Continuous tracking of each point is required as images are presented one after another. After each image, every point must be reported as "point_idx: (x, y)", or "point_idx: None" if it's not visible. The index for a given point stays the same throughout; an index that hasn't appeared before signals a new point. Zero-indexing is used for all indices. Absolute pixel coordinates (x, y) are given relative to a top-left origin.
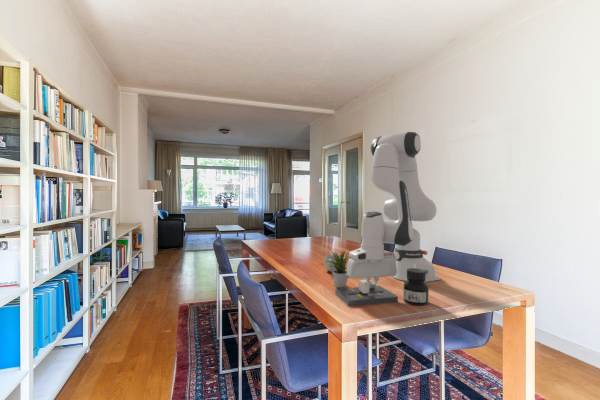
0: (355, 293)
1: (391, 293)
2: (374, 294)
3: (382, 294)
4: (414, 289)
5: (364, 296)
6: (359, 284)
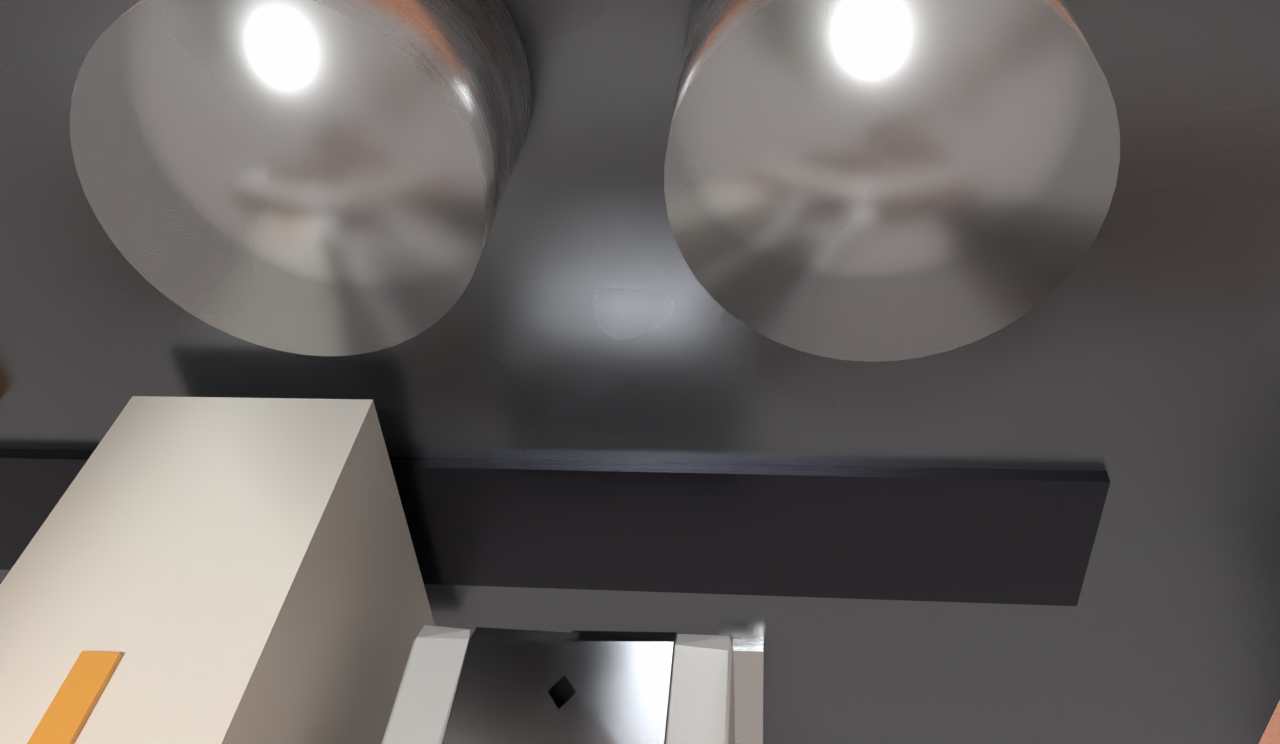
0: (2, 550)
1: (1227, 726)
2: None
3: (866, 729)
4: None
5: None
6: (13, 622)
